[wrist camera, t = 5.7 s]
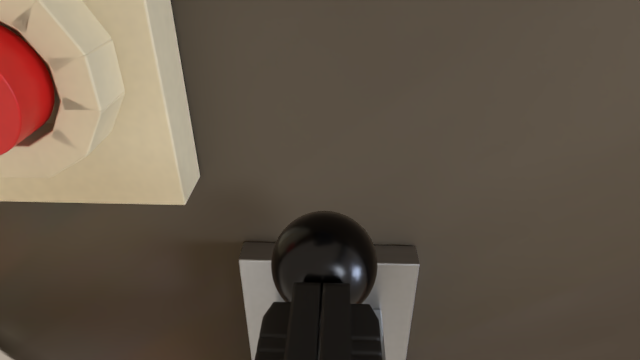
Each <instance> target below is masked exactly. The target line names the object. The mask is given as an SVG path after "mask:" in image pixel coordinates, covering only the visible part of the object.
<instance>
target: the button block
mask: <svg viewBox="0 0 640 360" xmlns="http://www.w3.org/2000/svg"><path fill="white" fill-rule="evenodd" d="M0 25H1V26H3V27H5V28H7V29H9V30H10V31H12V32H13V33H15V34H16V35H18V36H19V37H20V38H22V39H23V40H24V41H25V42H26V43H28V45H29V46H30V47H31V48H32V49H33V50H34V51H35V52H36V53H37V54H38V56H39V57H40V58H41V60H42V61H43V63H44V64H45V66H46V68H47V70H48V72H49V74H50V77H51V79H52V83H53V87H54V94H55V102H54V107H53V111H52V113H51V116H50V117H49V119H48V120H47V121H46V123H45V124H44V125H42V126H41V127H40V128H39V129H37V130H36V131H35V132H33V133H32V134H31V135H29V136H28V137H27V138H25V139H24V140H22V141H21V142H20V143H18V144H17V145H16V146H14V147H13V148H12V149H10V150H9V151H8V152H6V153H4V154H2V155H0V201H16V202H64V203H111V204H159V205H185V204H186V202H187V200H188V198H189V197H190V195H191V193H192V191H193V189H194V187H195V185H196V183H197V181H198V179H199V177H200V172H199V167H198V161H197V155H196V149H195V143H194V137H193V131H192V125H191V119H190V113H189V107H188V102H187V96H186V90H185V84H184V78H183V72H182V66H181V60H180V54H179V48H178V42H177V36H176V31H175V25H174V19H173V13H172V7H171V1H170V0H0Z"/></svg>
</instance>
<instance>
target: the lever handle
mask: <svg viewBox="0 0 640 360" xmlns="http://www.w3.org/2000/svg"><path fill="white" fill-rule="evenodd" d="M377 269H378V263H377V254H376V250H375V247H374V244H373V242H372V240H371V238H370V237H369V235H368V233H367V232H366V231H365V230H364V228H363V227H362V226H361V225H359V224H358V223H357V222H356V221H354V220H353V219H351V218H349V217H347V216H346V215H343V214H340V213H337V212H332V211H317V212H312V213H308V214H305V215H303V216H301V217H299V218H297V219H296V220H294V221H293V222H291V223H290V224H289V225H288V226H287V227H286V228H285V229H284V230H283V231H282V233H281V234H280V236H279V237H278V239H277V241H276V243H275V246H274V249H273V253H272V257H271V272H272V278H273V282H274V284H275V287H276V289H277V291H278V293H279V294H280V296H281V297H282V299H283V300H284V301H285V302H291V300H292V292H293V285H294V282H308V283H321V314H322V294H323V283H350V304H362V303H363V302H364V301H365V300H366V298H367V297H368V296H369V294H370V292H371V291H372V289H373V286H374V283H375V281H376V277H377Z"/></svg>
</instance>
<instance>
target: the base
mask: <svg viewBox="0 0 640 360" xmlns="http://www.w3.org/2000/svg"><path fill="white" fill-rule="evenodd" d="M274 246H275V243H264V242H244V243H243V246H242V250H241V253H240V257H239V268H240V275H241V283H242V291H243V298H244V306H245V313H246V321H247V328H248V336H249V344H250V351H251V359H252V360H255V355H256V352H257V345H258V339H259V334H260V329H261V324H262V319H263V316H264V315H265V313H266V312H267V310H268V309H269V308H270V306H271V305H272V303H273V302H285V301H284V300H283V299H282V297H281V296H280V294H279V293H278V291H277V289H276V287H275V284H274V282H273V278H272V272H271V257H272V253H273V249H274ZM374 247H375V250H376V254H377V263H378V269H377V277H376V281H375V283H374V286H373V289H372V291H371V292H370V294H369V296H368V297H367V298H366V300H365V301H364V302H363V303H362V304H370V306H371V307H372V309H373V311H374V312H375V314H376V316H377V318H378V319H379V326H380V338H381V339H380V340H381V349H382V360H406V355H407V348H408V341H409V334H410V327H411V321H412V314H413V307H414V300H415V293H416V286H417V279H418V273H419V266H420V264H419V259H418V255H417V250H416V247H415V246H388V245H374Z"/></svg>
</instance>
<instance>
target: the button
mask: <svg viewBox="0 0 640 360" xmlns="http://www.w3.org/2000/svg"><path fill="white" fill-rule="evenodd" d="M54 102H55V94H54V87H53V83H52V79H51V77H50V74H49V72H48V70H47V68H46V66H45V64H44V63H43V61H42V60H41V58H40V57H39V56H38V54H37V53H36V52H35V51H34V50H33V49H32V48H31V47H30V46H29V45H28V43H26V42H25V41H24V40H23V39H22V38H20V37H19V36H18V35H16V34H15V33H13V32H12V31H10V30H9V29H7V28H5V27H3V26H1V25H0V155H2V154H4V153H6V152H8V151H9V150H10V149H12V148H13V147H14V146H16V145H17V144H18V143H20V142H21V141H22V140H24V139H25V138H27V137H28V136H29V135H31V134H32V133H33V132H35V131H36V130H37V129H39V128H40V127H41V126H42V125H44V124H45V123H46V121H47V120H48V119H49V117H50V116H51V113H52V111H53V107H54Z"/></svg>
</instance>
